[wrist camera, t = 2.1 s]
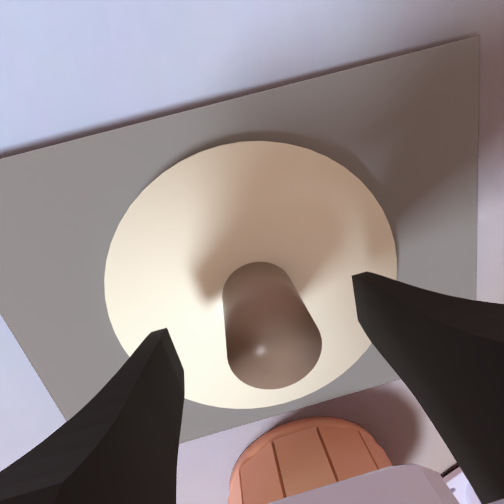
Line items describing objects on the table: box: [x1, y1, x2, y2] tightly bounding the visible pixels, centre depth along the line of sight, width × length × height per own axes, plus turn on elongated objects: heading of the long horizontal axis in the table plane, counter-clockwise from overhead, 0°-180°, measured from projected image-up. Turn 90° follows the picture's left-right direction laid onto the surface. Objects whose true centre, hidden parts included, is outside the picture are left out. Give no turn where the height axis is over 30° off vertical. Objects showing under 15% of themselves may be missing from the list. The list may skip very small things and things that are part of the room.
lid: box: [104, 141, 397, 409], centre depth 13 cm, size 13×13×5 cm
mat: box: [0, 35, 480, 444], centre depth 16 cm, size 16×22×1 cm
